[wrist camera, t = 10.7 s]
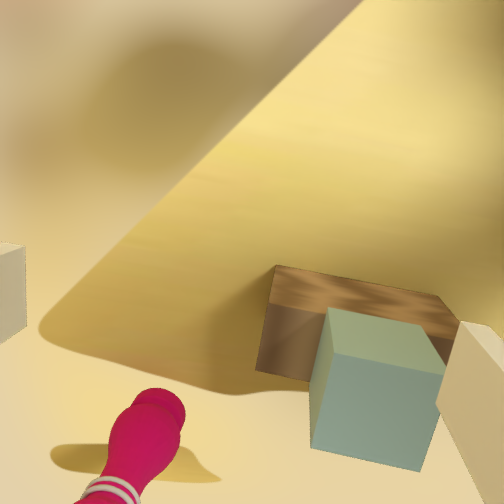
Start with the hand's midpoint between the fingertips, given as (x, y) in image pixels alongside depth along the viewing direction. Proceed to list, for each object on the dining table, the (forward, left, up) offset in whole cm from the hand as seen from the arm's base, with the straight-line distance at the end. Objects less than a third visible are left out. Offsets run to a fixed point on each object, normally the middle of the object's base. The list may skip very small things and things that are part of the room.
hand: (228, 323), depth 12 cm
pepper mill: (+9, +27, -29) cm, 40 cm away
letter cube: (-9, +10, -19) cm, 23 cm away
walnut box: (-9, +10, -29) cm, 31 cm away
